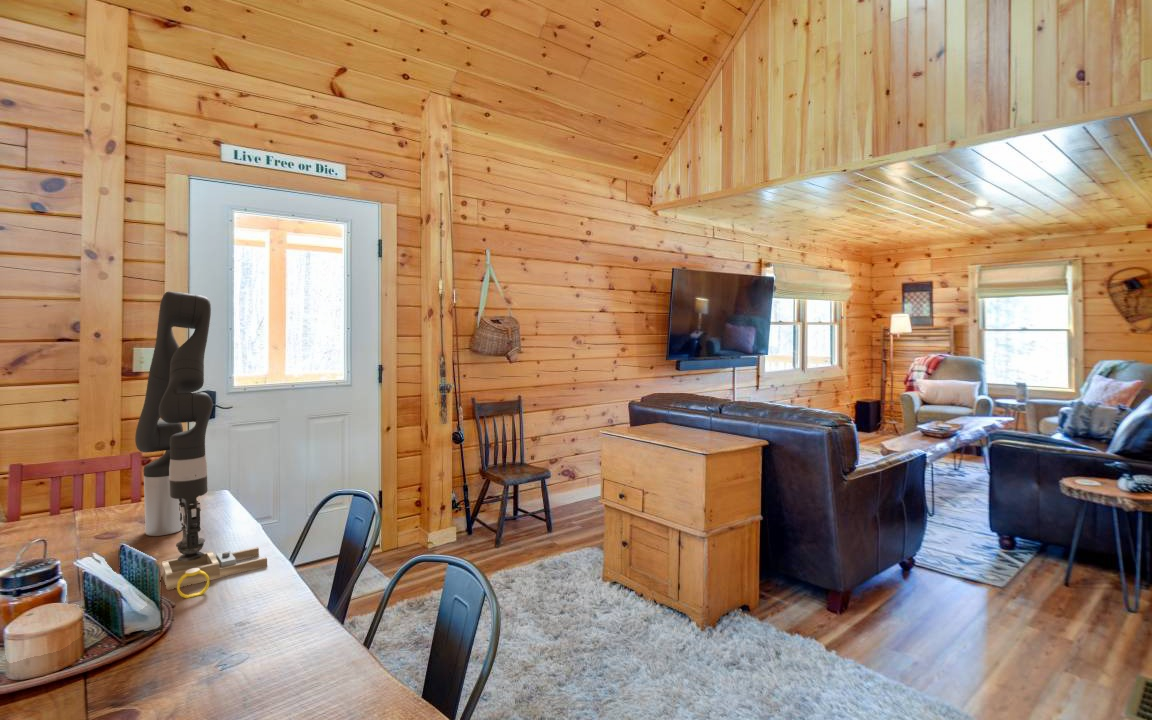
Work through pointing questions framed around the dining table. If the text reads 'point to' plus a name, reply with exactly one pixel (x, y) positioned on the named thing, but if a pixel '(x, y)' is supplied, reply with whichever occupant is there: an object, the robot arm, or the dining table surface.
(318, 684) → the dining table surface
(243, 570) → the holder
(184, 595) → the watch
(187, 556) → the dark stupa figurine
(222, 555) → the cover
